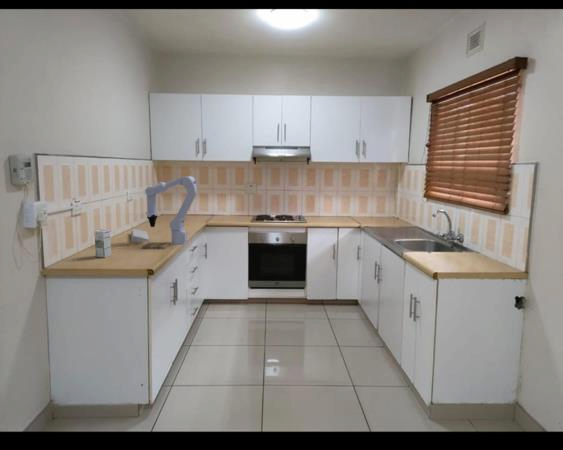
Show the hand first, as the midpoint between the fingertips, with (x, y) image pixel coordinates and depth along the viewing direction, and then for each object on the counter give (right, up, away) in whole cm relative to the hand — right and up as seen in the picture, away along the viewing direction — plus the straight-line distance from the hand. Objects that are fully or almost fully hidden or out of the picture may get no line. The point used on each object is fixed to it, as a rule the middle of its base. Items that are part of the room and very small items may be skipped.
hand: (152, 226), depth 252 cm
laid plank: (+10, -12, -11) cm, 19 cm away
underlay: (+6, -12, -11) cm, 18 cm away
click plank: (+3, -12, -11) cm, 17 cm away
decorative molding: (-15, -9, +18) cm, 25 cm away
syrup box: (-14, -16, -39) cm, 44 cm away
